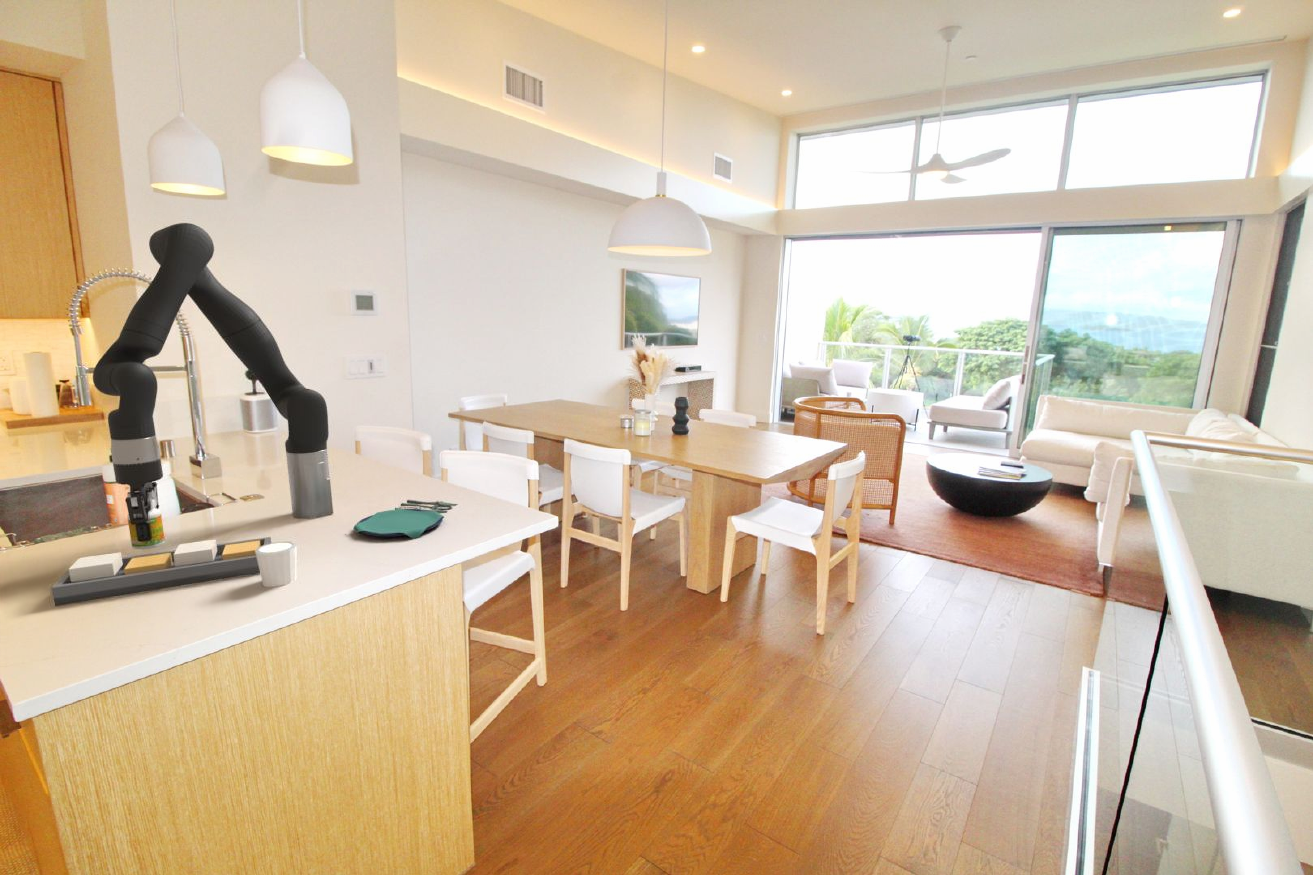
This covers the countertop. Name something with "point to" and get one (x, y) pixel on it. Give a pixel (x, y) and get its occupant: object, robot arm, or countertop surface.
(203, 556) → the key
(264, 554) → the white cup
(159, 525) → the supplement bottle
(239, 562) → the keypad base
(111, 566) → the key
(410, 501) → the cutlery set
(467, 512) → the countertop surface
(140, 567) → the key
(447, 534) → the countertop surface
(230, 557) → the key
